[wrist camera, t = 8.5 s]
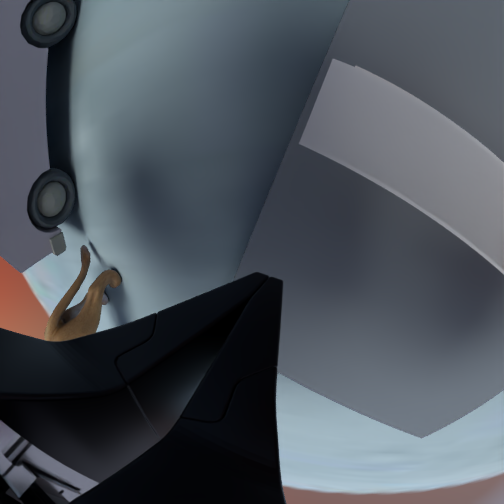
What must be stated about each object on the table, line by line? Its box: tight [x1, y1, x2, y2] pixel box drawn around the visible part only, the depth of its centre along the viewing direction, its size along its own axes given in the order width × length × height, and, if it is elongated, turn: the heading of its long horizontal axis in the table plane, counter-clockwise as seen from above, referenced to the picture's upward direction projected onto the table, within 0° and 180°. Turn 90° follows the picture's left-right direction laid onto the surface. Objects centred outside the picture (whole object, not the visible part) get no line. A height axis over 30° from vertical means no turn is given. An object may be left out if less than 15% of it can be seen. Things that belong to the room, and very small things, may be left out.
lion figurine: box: [44, 245, 121, 341], centre depth 16 cm, size 15×5×9 cm, turn 12°
